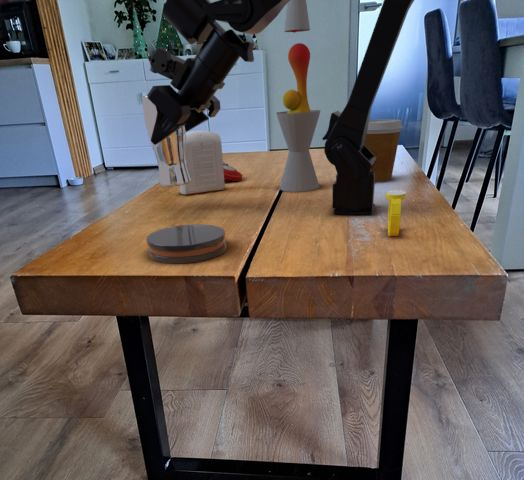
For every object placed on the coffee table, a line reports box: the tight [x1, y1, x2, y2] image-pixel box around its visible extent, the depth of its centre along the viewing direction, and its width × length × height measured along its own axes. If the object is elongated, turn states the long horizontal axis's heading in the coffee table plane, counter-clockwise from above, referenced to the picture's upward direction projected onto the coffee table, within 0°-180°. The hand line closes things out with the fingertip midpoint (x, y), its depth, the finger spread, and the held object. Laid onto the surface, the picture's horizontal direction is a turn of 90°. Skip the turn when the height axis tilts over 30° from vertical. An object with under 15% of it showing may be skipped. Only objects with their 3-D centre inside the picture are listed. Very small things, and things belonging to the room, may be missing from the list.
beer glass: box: [141, 95, 192, 188], centre depth 89 cm, size 7×7×15 cm
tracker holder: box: [223, 161, 243, 182], centre depth 120 cm, size 12×4×10 cm
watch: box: [385, 189, 407, 237], centre depth 70 cm, size 6×3×6 cm, turn 170°
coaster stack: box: [146, 223, 227, 264], centre depth 69 cm, size 11×11×2 cm
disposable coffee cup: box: [364, 118, 404, 183], centre depth 107 cm, size 10×10×12 cm
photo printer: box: [179, 130, 226, 195], centre depth 106 cm, size 10×4×12 cm, turn 117°
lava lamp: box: [275, 0, 321, 193], centre depth 98 cm, size 9×9×35 cm
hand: (161, 140), depth 89 cm, fingers closed on beer glass, 7 cm apart
